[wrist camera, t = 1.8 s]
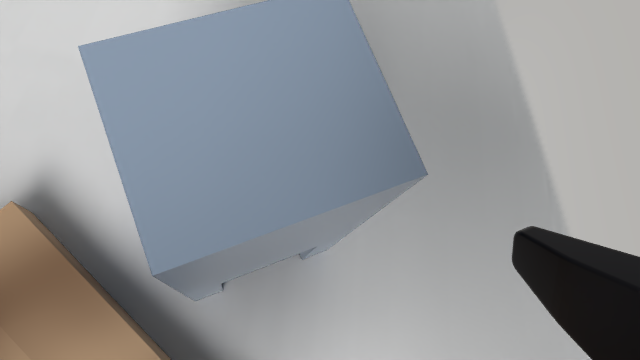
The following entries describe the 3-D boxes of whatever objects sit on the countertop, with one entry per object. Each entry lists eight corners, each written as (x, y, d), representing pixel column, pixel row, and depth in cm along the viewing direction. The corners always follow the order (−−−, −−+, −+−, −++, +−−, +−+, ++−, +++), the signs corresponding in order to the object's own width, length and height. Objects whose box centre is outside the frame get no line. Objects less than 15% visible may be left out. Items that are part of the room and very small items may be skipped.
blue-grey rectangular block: (286, 149, 23) (340, -17, 12) (326, 249, 22) (428, 174, 11) (157, 191, 22) (78, 46, 10) (194, 301, 21) (152, 275, 9)
